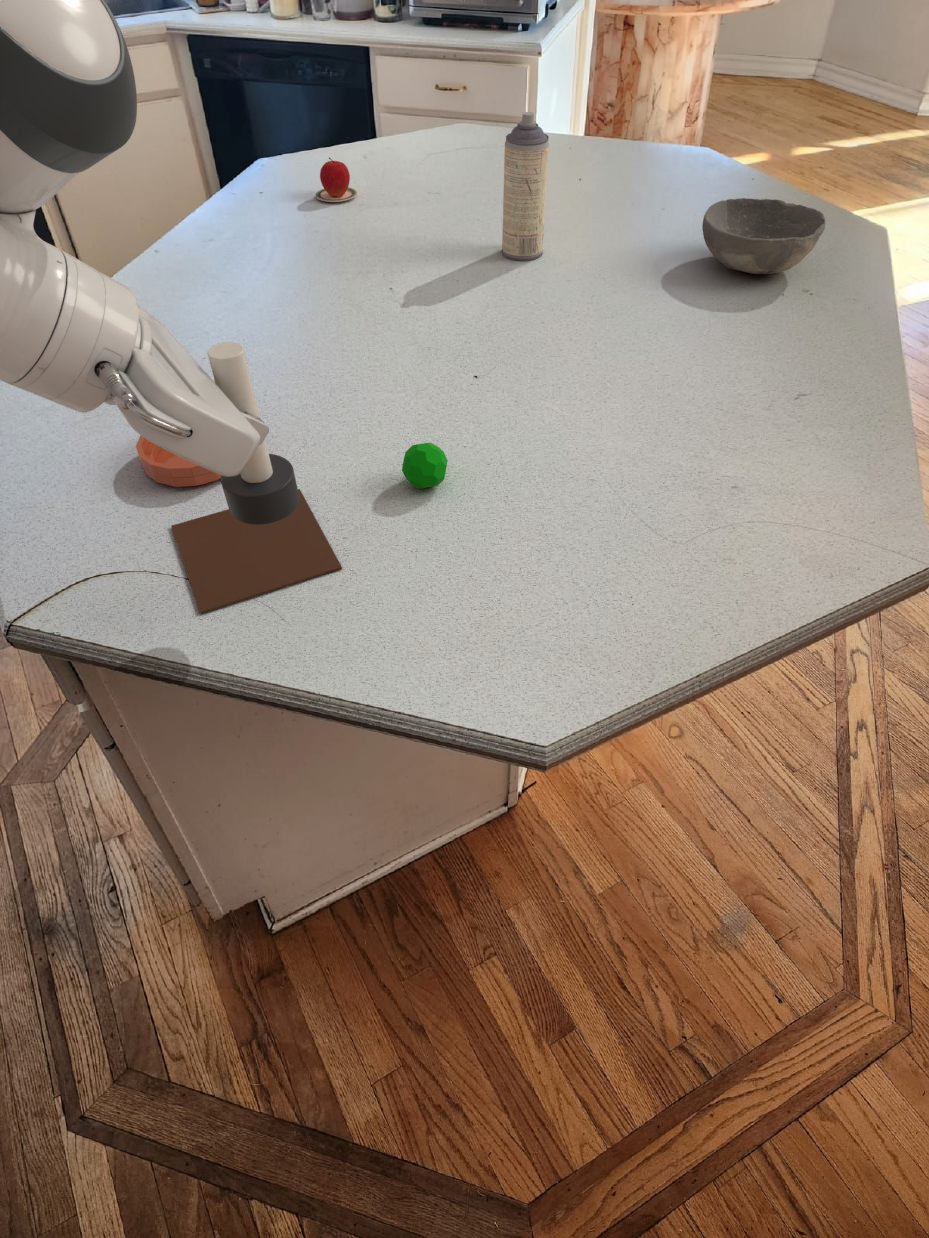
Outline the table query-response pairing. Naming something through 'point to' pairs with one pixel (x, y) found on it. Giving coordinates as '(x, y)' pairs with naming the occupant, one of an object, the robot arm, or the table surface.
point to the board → (251, 555)
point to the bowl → (761, 234)
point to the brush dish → (171, 466)
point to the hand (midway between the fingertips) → (251, 421)
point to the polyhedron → (424, 465)
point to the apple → (335, 183)
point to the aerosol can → (524, 190)
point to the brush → (266, 477)
